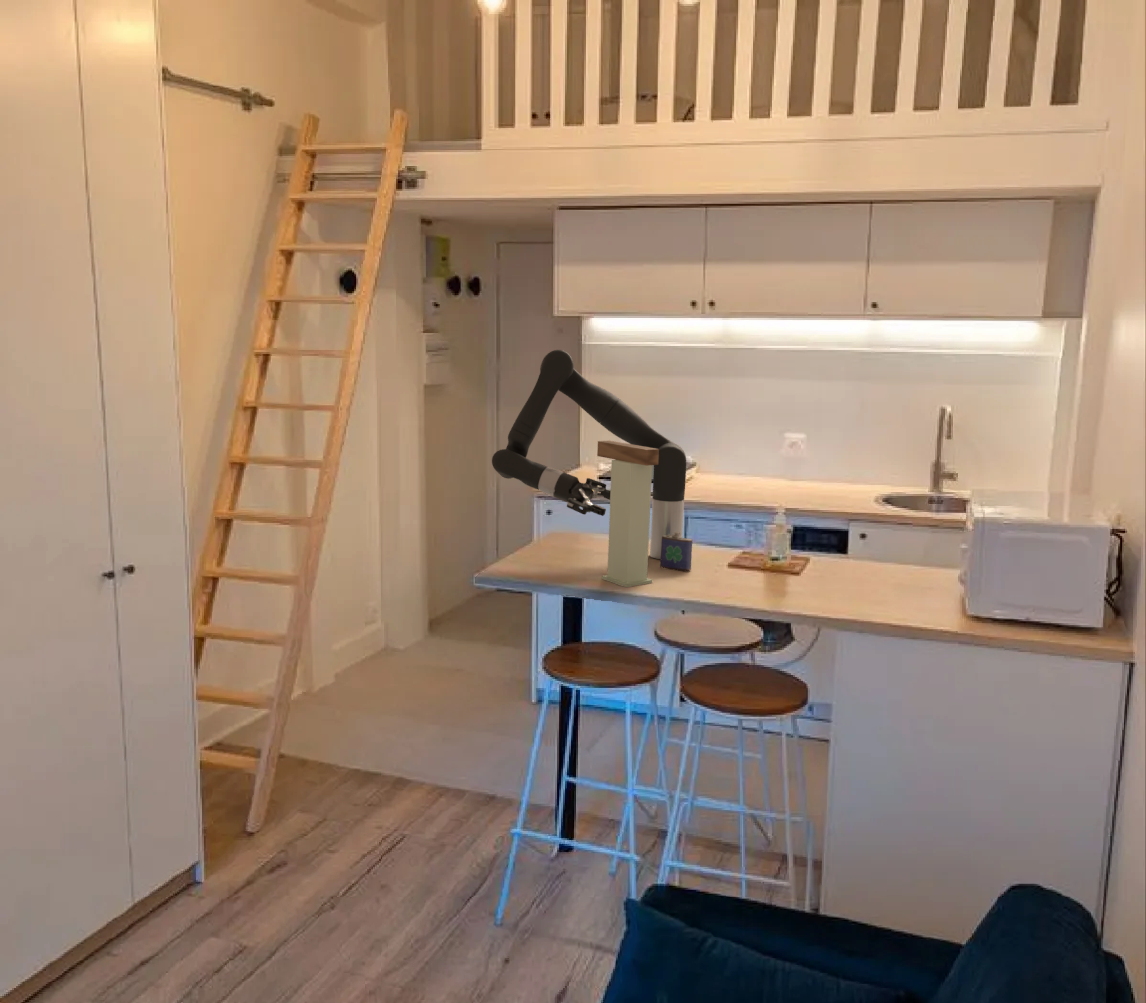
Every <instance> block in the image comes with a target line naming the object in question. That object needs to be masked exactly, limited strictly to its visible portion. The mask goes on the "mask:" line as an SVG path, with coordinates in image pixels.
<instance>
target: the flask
mask: <svg viewBox="0 0 1146 1003" xmlns="http://www.w3.org/2000/svg"><path fill="white" fill-rule="evenodd" d="M674 533H675V535H671V536H669V535H670V534H669V535H665V536H662V545H661V558H660V559H659V561H660V562H659V566H660V568H661V569H667V570H671V571H672V570H674V571H678V572H679V571H681V572H690V571H691V570H692V552H693V551H692V550H693V539H691V538H684V537H682V538H679V534H680V532H674Z"/></svg>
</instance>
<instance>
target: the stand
mask: <svg viewBox="0 0 1146 1003" xmlns="http://www.w3.org/2000/svg"><path fill="white" fill-rule="evenodd" d="M610 466H611V469H610V470H611V471H610V491H611V492H610V500H609V521H608V522H609V523H608V524H609V526H608V545H607V546H608V551H607V552H608V553H607V574H605V575H602V576H601V579H602V580H604V581H607V582H609V583H610V582H611V583H612V584H616V585H619V586H622V587H625V588H630V587H635V586H636V587H637V586H642V585H646V584H652V583H653V579H651V578H648V568H649V567H648V566H649V564H648V563H649V548H650V544H649V542H650V523H651V522H650V521H651V519H650V518H651V499H652V498H651V497H652V479H653V478H652V477H653V465H648V466H646V465H641V464H635V463H630V462H625V461H620V460H615V459H611V465H610Z"/></svg>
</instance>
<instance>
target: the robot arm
mask: <svg viewBox="0 0 1146 1003" xmlns="http://www.w3.org/2000/svg"><path fill="white" fill-rule="evenodd" d="M574 363H575V362H574V359H573V357H572V356H571V355H570V354H569V352H567V351H565V350H563V349H554V350H551V351H549V352H548V353H547V354H546V355H545V356H544V357H543V359H542V361H541V364H540V368H539V375H538V378H537V381H536V382H535V385H534V387H533V389H532V391H531V393H530V395H529V397H528V398H527V400H526V402H525V404H524V405H523V407H522V409H521V410H520V412H519V413H518V415H517V417H516V419H515V420H514V422H513V424H512V427H511V428H510V430H509V432H508V435H507V445H506V447H505V448H503V449H498V450H497V451H495V453H493V455H492V458H491V465H492V468H493V469H494V470H495V472H497V473H498V474H499V475H500V477H503V478H504V479H508V480H509V479H516V480H518V481H521V483H522V484H524V485H526V486H528V487H530V488H533V489H535V490H538V491H540V492H541V493H544V494H546V495H548V496H550V497H553V498H555V499H558V500H559V501H563V502H564V503H566V507H567V508H568V509H570V510H573V511H575V512H577V513H580V514H582V515H586V514H587V513H594V514H596V515H599V516H602V517H603V516H605V514H606V511H607V509H606V508H605V507H604V506H601V505H598V504H595V503H593V502H592V501H591V500H592V499H596V498H603V499H607V500H608V501H610V492H611V490H608V489H607V484H606V483H604V482H601V481H598V480H595V479H592V478H589V477H587V478H585V479H586V481H585V482H580V480H579V478H578V477H577V476H574V475H573V474H569V473H566V472H564V471H561V470H560V469H558V468H557V469H556V468H554V467H549V466H547V465H544V464H541V463H539V462H537V461H533V460H531V459H529V458H527V455H528V452H529V449H530V447H531V444H532V443H533V441H534V439H535V437H536V435H537V433H538V432H539V429H540V427H541V426H542V423H543V421H544V419H545V416H546V414H547V412H548V410H549V407H550V405H551V403H552V402H553V399H554V398H555V396H556V394H557V393H558V392H561V393H562V394H564V395H565V396H567V397H568V398H569V399H571V400H572V401H573V402H575V403H576V404H577V405H578V406H579V407H580V408H581V409H582V410H583V411H584V412H585V413H587V414H588V415H589V416H590V417H591V418H593V419H594V420H595V421H596V422H597V423H598V424H600V425H601V426H602V427H603V428H605V429H606V430H607V431H609V432H610V433H612V434H613V435H614V436H616V437H617V438H619V439H621V440H622V441H625V443H627V444H632V445H638V446H644V447H650V448H656V449H659V459H658V465H653V474H652V477H653V478H652V496H651V497H652V498H651V499H652V504H651V505H652V506H651V522H650V523H651V525H650V528H651V529H650V544H649V556H650V557H651V558H653V559H657V560H660V558H661V545H662V536H665V535H669V534H670V535H669V536H671V535H675V533H674V532H680V534H679V538H683V534H684V533H683V532H684V531H683V530H684V529H683V528H684V509H685V492H686V491H685V490H686V479H687V478H686V477H687V456H686V453H685V451H684V449H683V447H681V446H680V445H679V444H677V443H675V442H674V441H671V439H668V438H667V437H665V436H664V435H663V434H661V433H659V431H657V430H655V429H654V428H653V427H651V425H649V424H648V422H647V421H646V420H645V419H643V418H642V416H640V414H638V413H637V412H636V411H635V410H634V409H633V408H631V407H630V406H629V405H628V404H627V403H626V402H625V401H624V400H622V399H621V398H620V397H618V396H617V395H616V394H614V393H612V392H611V391H609V390H607V389H605V388H603V387H601V386H598V385H596V384H594V383H593V382H591V381H589V380H588V379H586V377H584V376H583V375H582V374H581V373H580V372H578V371H577V370H576V368H575V365H574ZM580 507H581V508H580Z"/></svg>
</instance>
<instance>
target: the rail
mask: <svg viewBox="0 0 1146 1003" xmlns="http://www.w3.org/2000/svg"><path fill="white" fill-rule="evenodd" d="M596 455H597V456H596V457H600V458H606V459H611V460H620V461H625V462H630V463H635V464H641V465H646V466H648V465H652V466H654V465H658V459H659V449H656V448H650V447H644V446H638V445H632V444H630V443H628V442H621V441H615V440H597V454H596Z"/></svg>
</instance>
